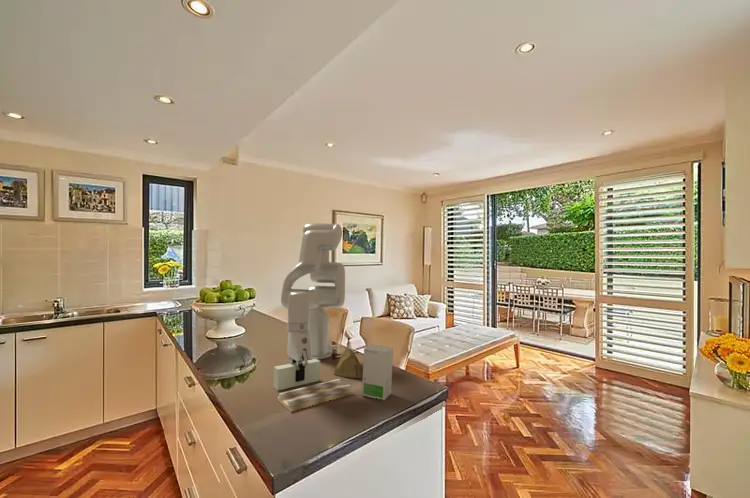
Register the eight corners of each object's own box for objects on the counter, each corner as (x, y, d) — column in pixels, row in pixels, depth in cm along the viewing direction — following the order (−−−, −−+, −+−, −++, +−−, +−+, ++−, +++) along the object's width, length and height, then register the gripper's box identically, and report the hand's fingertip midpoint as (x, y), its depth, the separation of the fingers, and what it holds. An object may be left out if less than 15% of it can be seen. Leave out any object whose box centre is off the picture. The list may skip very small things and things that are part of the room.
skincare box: (361, 396, 110) (362, 347, 110) (369, 389, 116) (370, 343, 116) (385, 400, 106) (386, 351, 107) (392, 393, 112) (393, 346, 113)
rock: (370, 371, 127) (358, 360, 136) (360, 355, 124) (348, 345, 132) (349, 392, 123) (337, 379, 132) (337, 376, 120) (326, 365, 128)
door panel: (315, 377, 126) (315, 358, 126) (319, 380, 123) (320, 361, 123) (273, 387, 116) (274, 366, 116) (277, 390, 113) (277, 369, 113)
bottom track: (337, 384, 119) (337, 377, 119) (353, 393, 111) (353, 386, 111) (277, 400, 106) (277, 392, 106) (290, 411, 98) (290, 403, 98)
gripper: (319, 329, 116) (318, 383, 115) (298, 322, 129) (297, 370, 128) (298, 332, 111) (297, 388, 111) (279, 324, 124) (278, 374, 124)
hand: (297, 378), depth 119 cm, fingers closed on door panel, 3 cm apart
